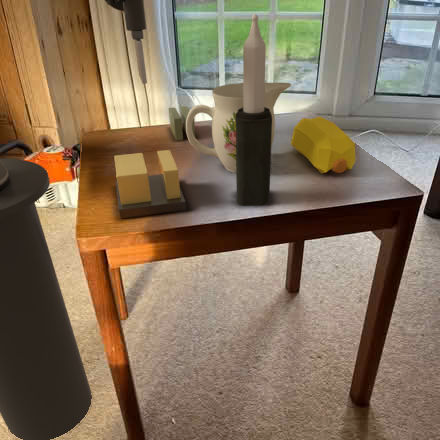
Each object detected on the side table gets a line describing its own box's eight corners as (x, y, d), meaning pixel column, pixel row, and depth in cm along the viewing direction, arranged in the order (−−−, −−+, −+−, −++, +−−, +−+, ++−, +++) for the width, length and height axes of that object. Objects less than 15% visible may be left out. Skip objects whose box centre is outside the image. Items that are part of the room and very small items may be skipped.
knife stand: (170, 128, 103) (168, 107, 100) (188, 126, 104) (186, 106, 101) (176, 140, 96) (174, 118, 93) (195, 138, 97) (194, 116, 94)
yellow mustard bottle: (321, 143, 92) (285, 147, 91) (324, 108, 88) (287, 112, 87) (361, 176, 78) (319, 181, 76) (368, 136, 74) (324, 141, 72)
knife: (132, 75, 65) (113, -57, 56) (150, 74, 65) (134, -58, 56) (135, 84, 60) (115, -59, 51) (154, 82, 60) (138, -59, 51)
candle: (269, 205, 70) (276, 15, 55) (236, 205, 70) (234, 17, 55) (267, 191, 74) (274, 11, 59) (236, 192, 74) (234, 13, 59)
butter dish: (116, 187, 77) (110, 152, 73) (174, 180, 78) (171, 146, 75) (120, 218, 67) (113, 180, 64) (186, 210, 69) (183, 172, 65)
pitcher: (189, 158, 87) (183, 81, 79) (281, 154, 87) (285, 77, 79) (188, 180, 78) (182, 96, 70) (291, 175, 79) (297, 91, 70)
